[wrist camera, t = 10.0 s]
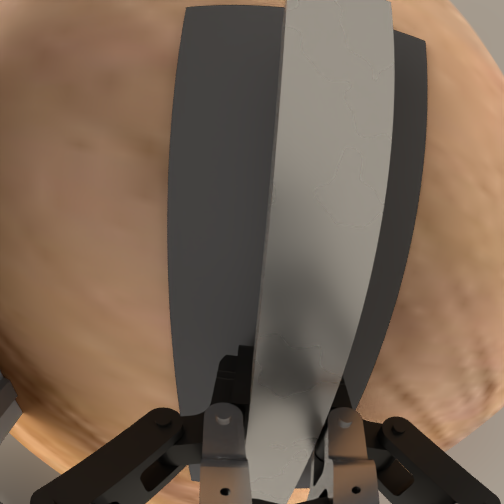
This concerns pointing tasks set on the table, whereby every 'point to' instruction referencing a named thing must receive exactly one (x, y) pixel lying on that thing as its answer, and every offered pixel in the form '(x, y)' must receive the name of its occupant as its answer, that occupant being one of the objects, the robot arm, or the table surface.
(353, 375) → the mat
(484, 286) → the table surface
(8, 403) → the rail stand
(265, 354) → the rail
